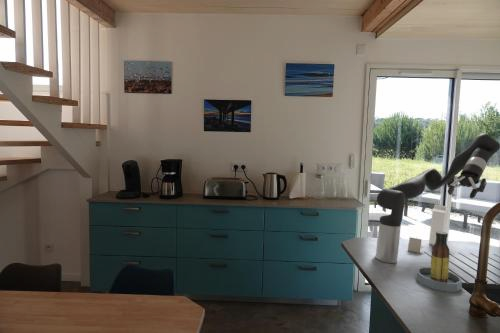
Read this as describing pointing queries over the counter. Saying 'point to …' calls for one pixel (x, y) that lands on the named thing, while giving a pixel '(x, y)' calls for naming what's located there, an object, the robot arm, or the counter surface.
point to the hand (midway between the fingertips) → (459, 195)
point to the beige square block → (415, 244)
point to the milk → (437, 222)
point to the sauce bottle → (440, 258)
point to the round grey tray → (450, 286)
